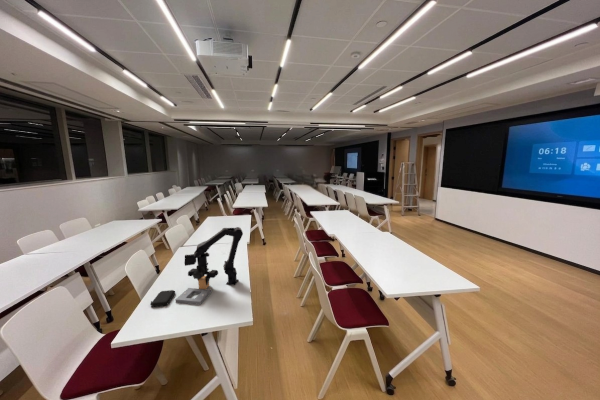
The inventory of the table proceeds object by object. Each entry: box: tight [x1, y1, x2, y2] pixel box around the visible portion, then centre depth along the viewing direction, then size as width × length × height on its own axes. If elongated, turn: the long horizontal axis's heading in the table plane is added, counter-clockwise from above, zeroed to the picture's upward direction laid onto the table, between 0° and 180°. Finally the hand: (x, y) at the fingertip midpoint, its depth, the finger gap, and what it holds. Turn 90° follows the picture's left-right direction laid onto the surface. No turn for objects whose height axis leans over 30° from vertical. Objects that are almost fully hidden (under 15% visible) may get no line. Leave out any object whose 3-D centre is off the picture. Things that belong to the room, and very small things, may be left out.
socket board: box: [175, 287, 212, 306], centre depth 147 cm, size 13×16×2 cm
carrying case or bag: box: [150, 289, 176, 308], centre depth 144 cm, size 11×3×15 cm
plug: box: [197, 275, 210, 289], centre depth 158 cm, size 6×4×7 cm, turn 171°
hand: (204, 284), depth 158 cm, fingers closed on plug, 4 cm apart
